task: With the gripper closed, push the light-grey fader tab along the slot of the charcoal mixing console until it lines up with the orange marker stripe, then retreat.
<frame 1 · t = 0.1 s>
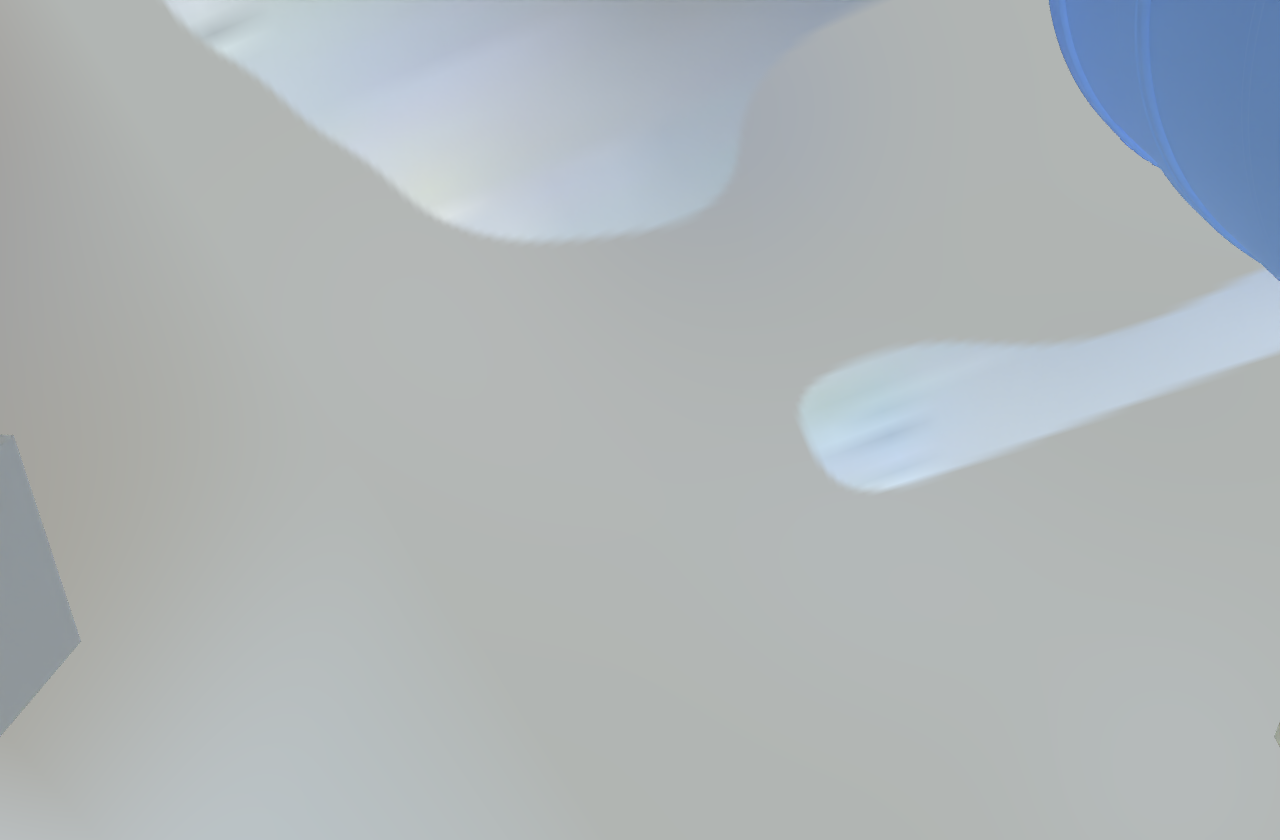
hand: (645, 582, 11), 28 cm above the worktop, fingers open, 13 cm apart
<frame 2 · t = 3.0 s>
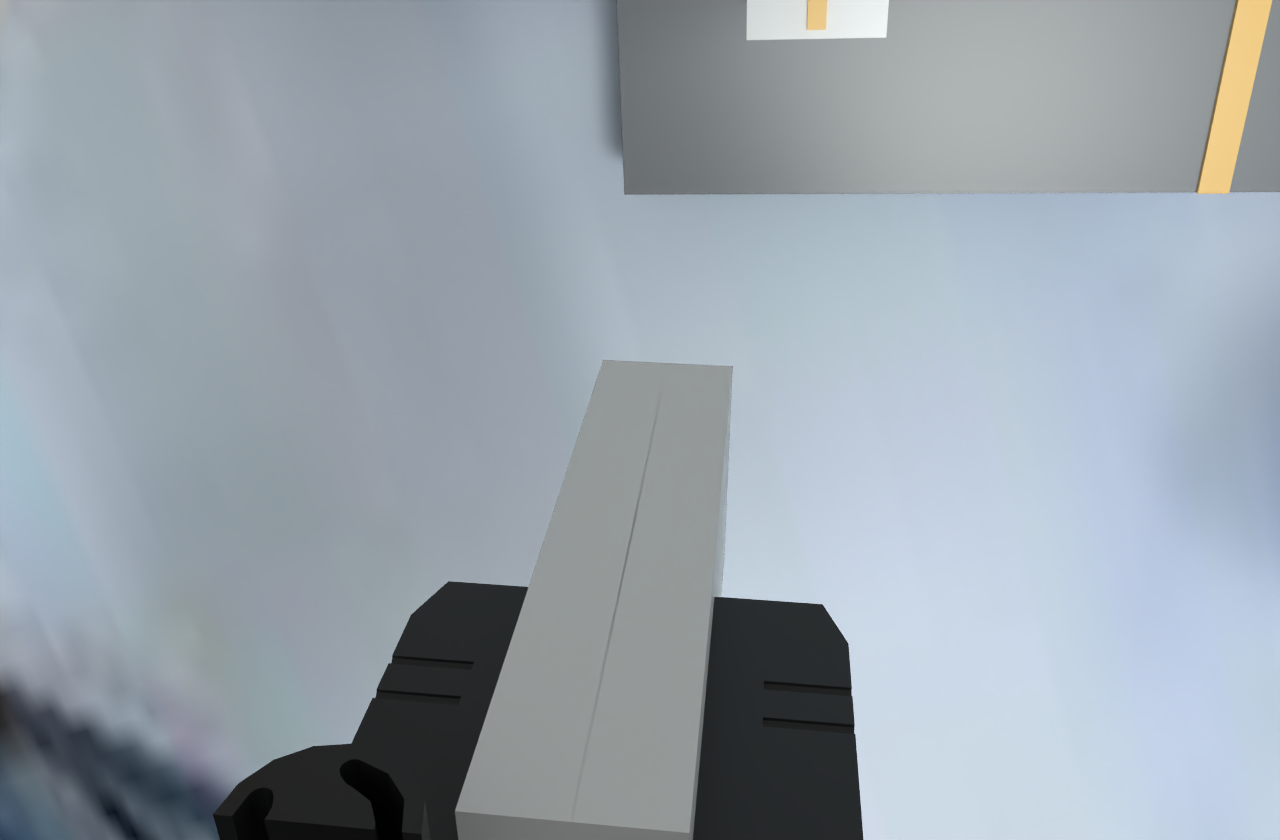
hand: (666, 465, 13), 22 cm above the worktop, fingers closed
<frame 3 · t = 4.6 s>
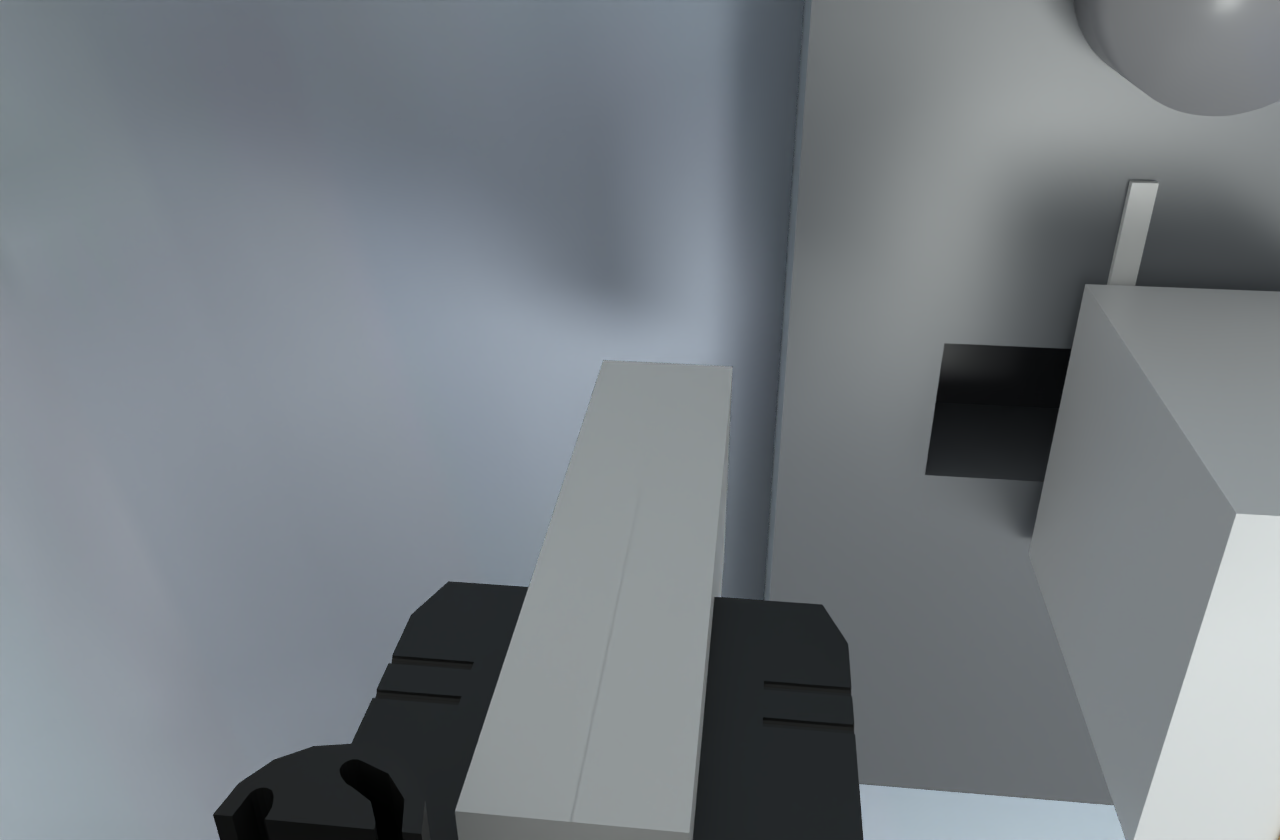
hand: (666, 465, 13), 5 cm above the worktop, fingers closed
fader: (1214, 495, 13), point 5 cm above the worktop, slide at -6.0 cm
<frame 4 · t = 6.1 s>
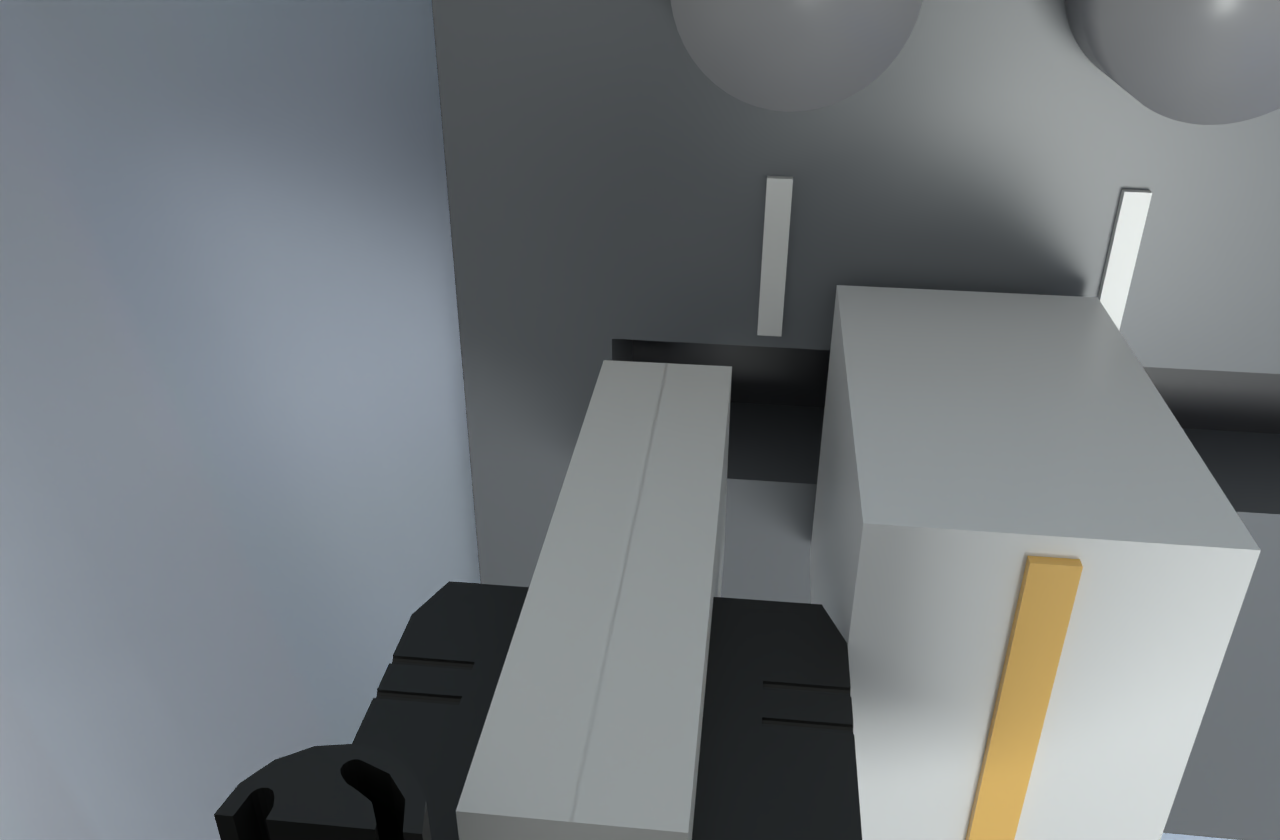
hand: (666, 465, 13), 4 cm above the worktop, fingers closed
fader: (957, 500, 13), point 5 cm above the worktop, slide at -4.7 cm, touching gripper
console: (1240, 346, 16), on the worktop
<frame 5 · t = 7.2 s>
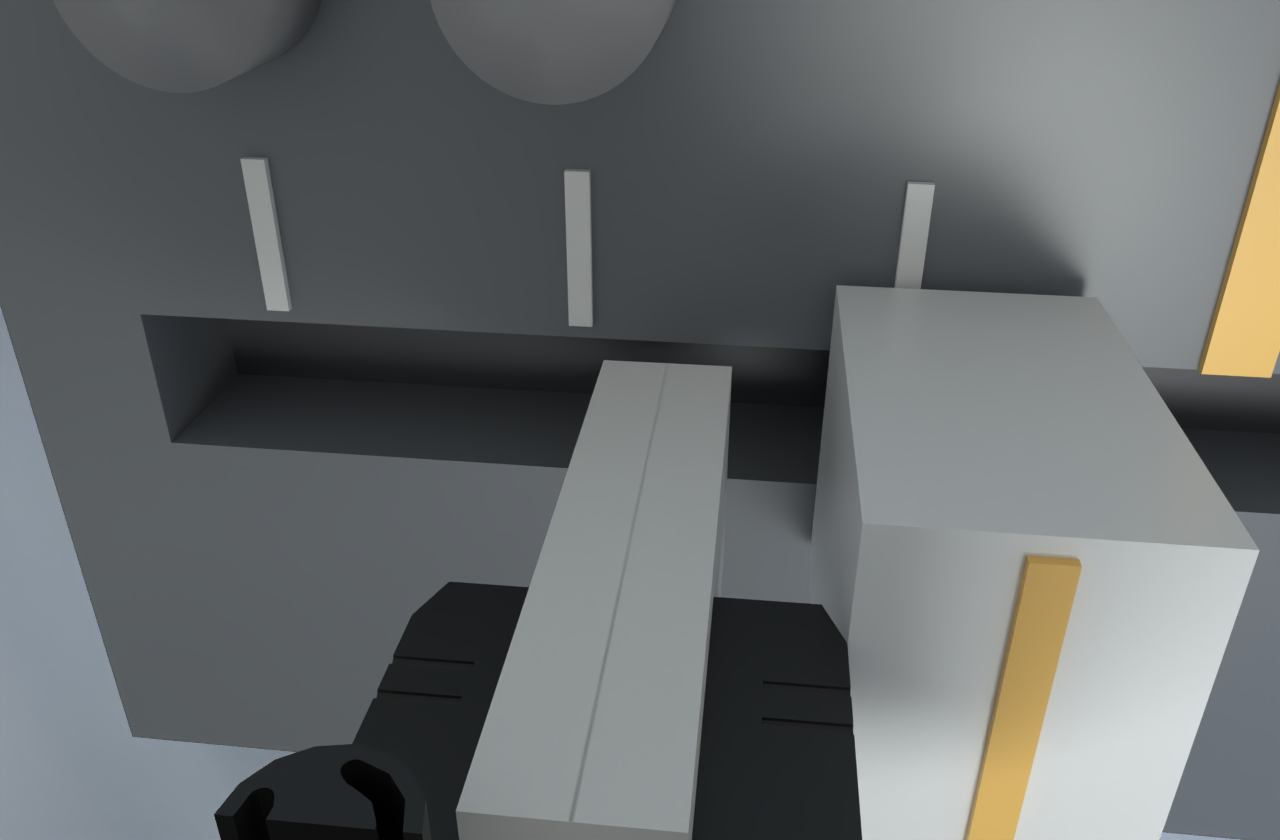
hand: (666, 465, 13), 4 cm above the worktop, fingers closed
fader: (957, 500, 13), point 5 cm above the worktop, slide at 1.6 cm, touching gripper
console: (806, 324, 17), on the worktop
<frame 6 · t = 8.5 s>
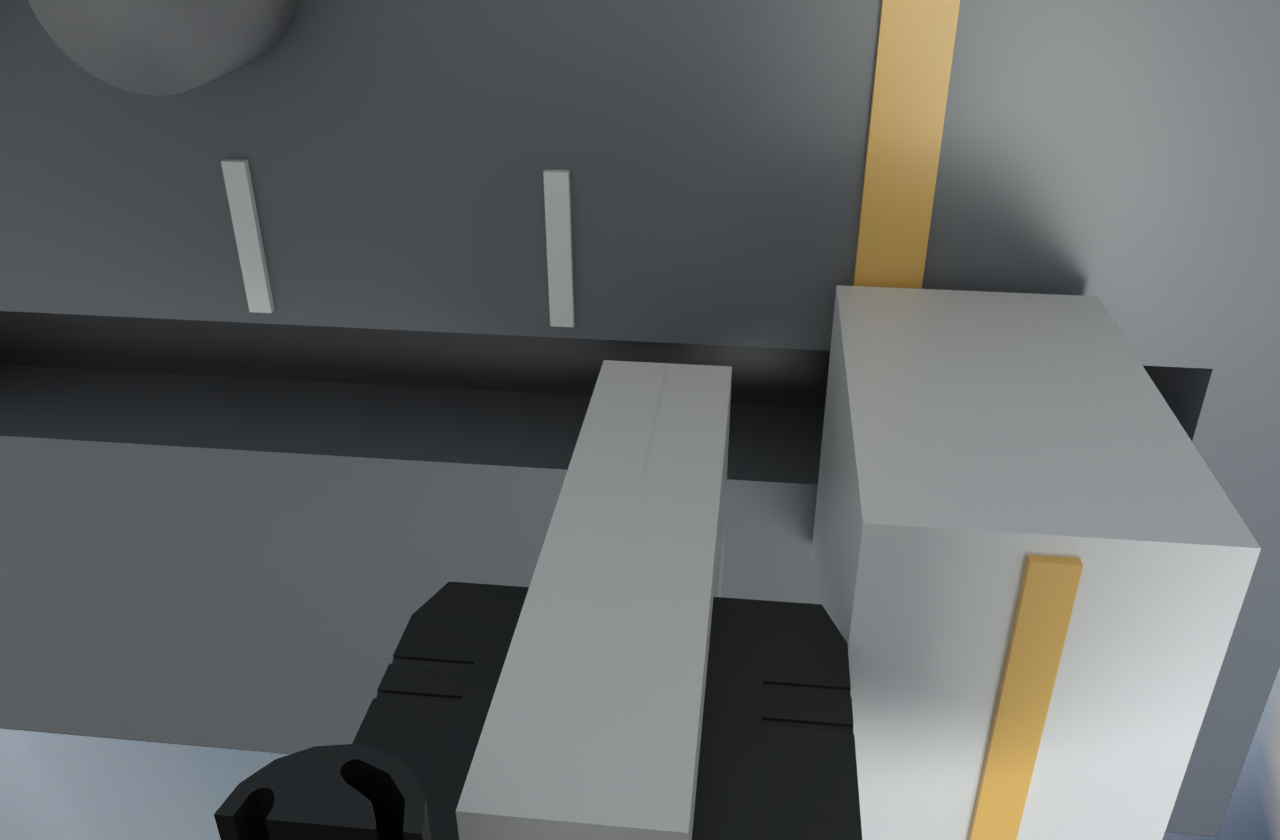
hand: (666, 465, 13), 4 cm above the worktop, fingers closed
fader: (958, 500, 13), point 5 cm above the worktop, slide at 5.9 cm, touching gripper
console: (536, 313, 17), on the worktop
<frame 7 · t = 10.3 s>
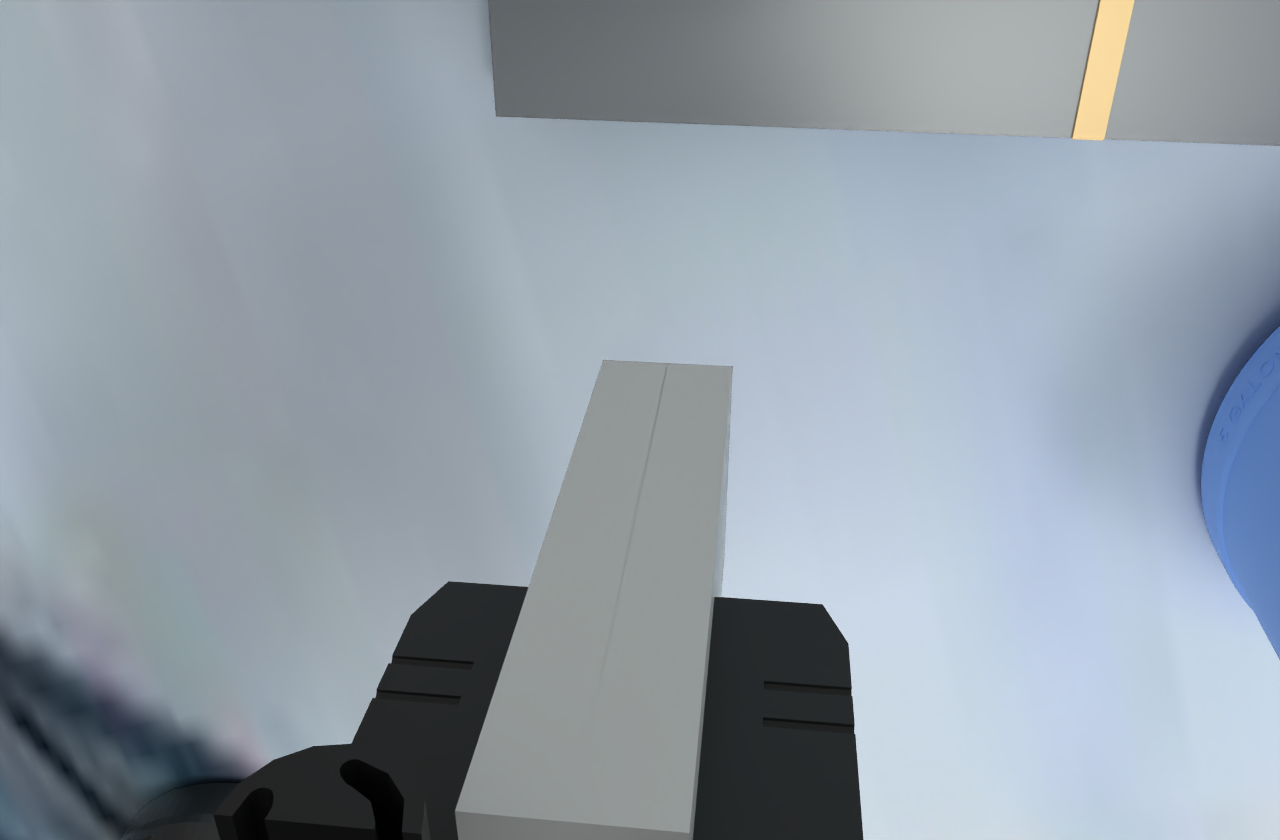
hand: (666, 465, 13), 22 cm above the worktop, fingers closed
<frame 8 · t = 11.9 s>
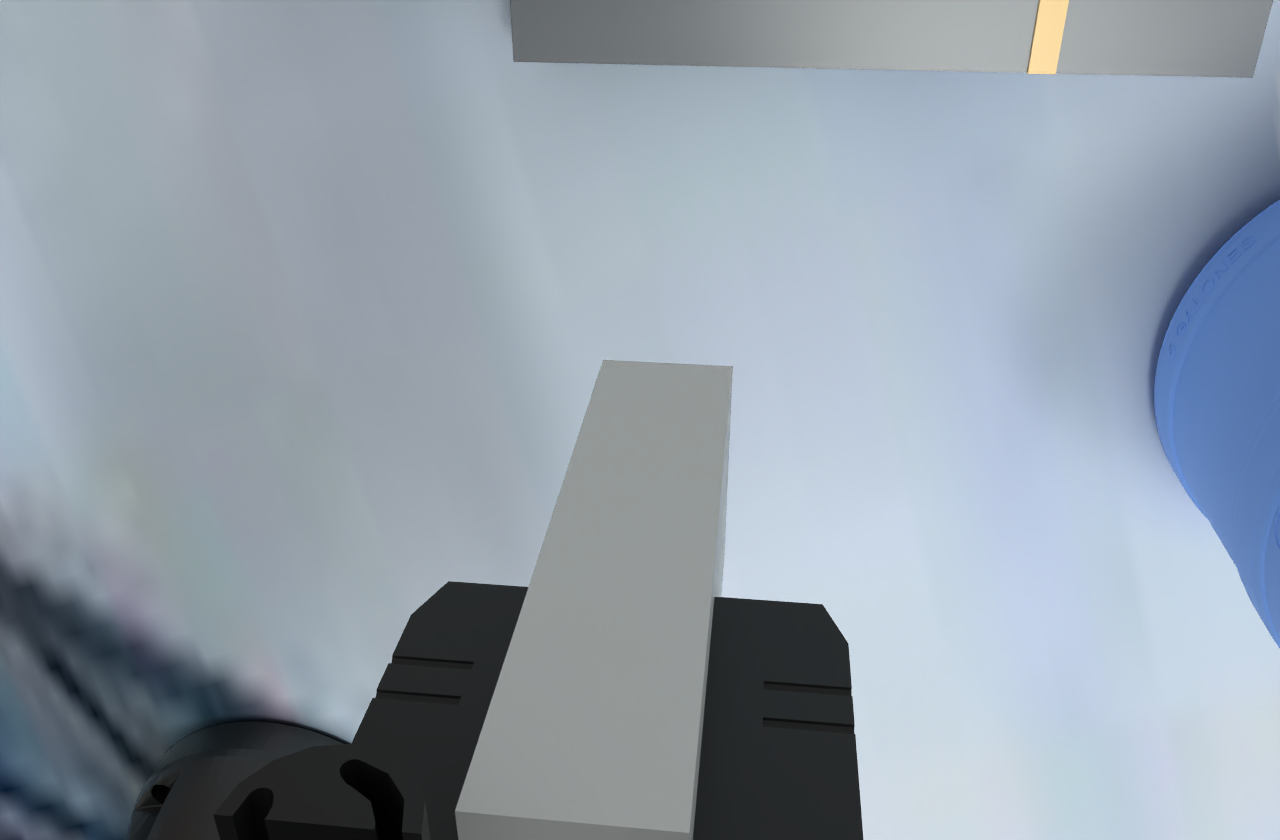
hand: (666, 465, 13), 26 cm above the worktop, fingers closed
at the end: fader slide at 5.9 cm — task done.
